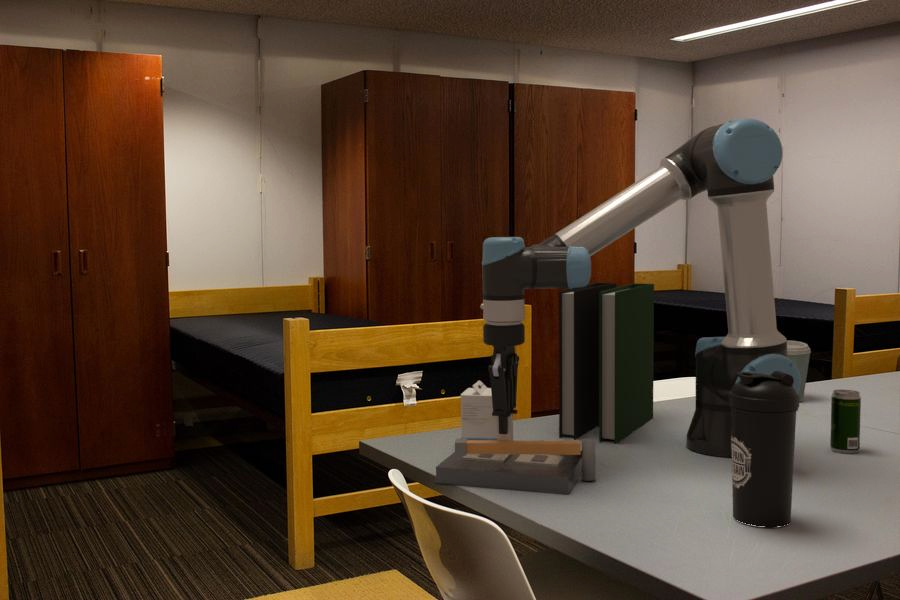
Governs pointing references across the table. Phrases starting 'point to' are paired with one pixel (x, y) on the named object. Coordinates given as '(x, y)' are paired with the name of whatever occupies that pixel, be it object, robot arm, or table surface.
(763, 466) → the water bottle
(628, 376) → the books
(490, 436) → the ink box
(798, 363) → the disposable coffee cup
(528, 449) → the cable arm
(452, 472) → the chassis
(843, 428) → the beer can
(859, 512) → the table surface
